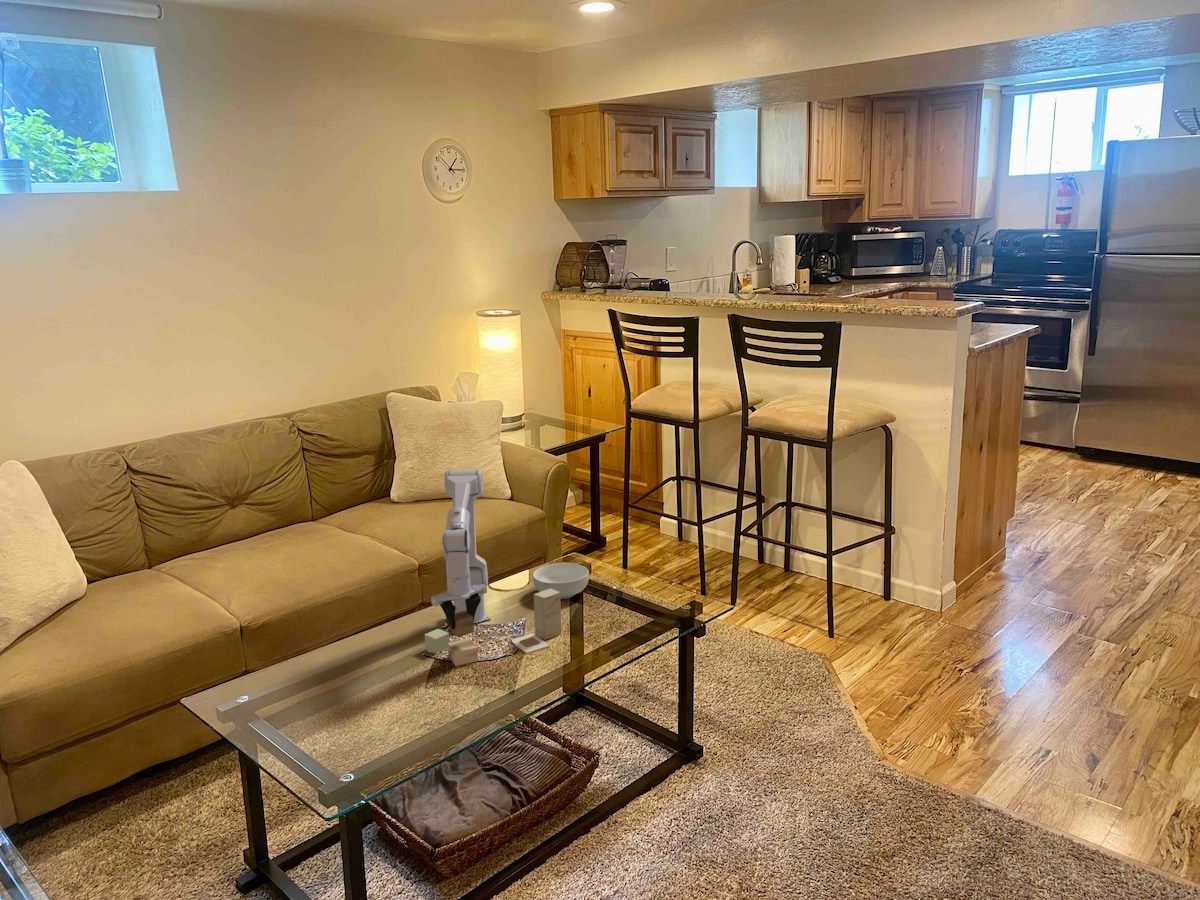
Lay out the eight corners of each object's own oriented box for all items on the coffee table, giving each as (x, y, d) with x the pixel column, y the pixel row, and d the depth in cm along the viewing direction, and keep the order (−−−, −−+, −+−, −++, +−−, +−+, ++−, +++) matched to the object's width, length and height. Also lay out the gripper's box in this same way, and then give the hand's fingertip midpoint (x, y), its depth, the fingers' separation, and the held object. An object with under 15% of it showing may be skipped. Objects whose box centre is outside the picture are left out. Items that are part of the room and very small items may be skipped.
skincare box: (544, 640, 237) (543, 598, 235) (534, 635, 241) (532, 594, 238) (562, 633, 242) (561, 591, 239) (551, 628, 245) (550, 587, 242)
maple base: (448, 657, 230) (447, 643, 229) (470, 652, 232) (470, 638, 231) (455, 666, 224) (454, 652, 224) (478, 661, 227) (477, 647, 226)
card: (510, 641, 237) (509, 639, 237) (532, 634, 241) (532, 632, 241) (526, 653, 230) (526, 651, 230) (549, 646, 234) (549, 644, 234)
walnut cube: (450, 631, 227) (449, 615, 226) (466, 626, 229) (465, 610, 228) (458, 637, 223) (456, 621, 222) (474, 632, 226) (472, 616, 225)
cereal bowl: (567, 579, 280) (566, 558, 279) (600, 594, 268) (600, 572, 266) (522, 593, 270) (521, 571, 268) (555, 610, 257) (554, 587, 256)
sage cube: (425, 650, 234) (424, 634, 233) (439, 644, 237) (438, 628, 236) (436, 655, 231) (435, 639, 230) (450, 648, 234) (449, 633, 233)
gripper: (438, 586, 216) (441, 638, 219) (491, 573, 224) (493, 623, 227) (426, 578, 221) (429, 628, 225) (478, 565, 229) (481, 614, 233)
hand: (461, 625), depth 226 cm, fingers closed on walnut cube, 4 cm apart
